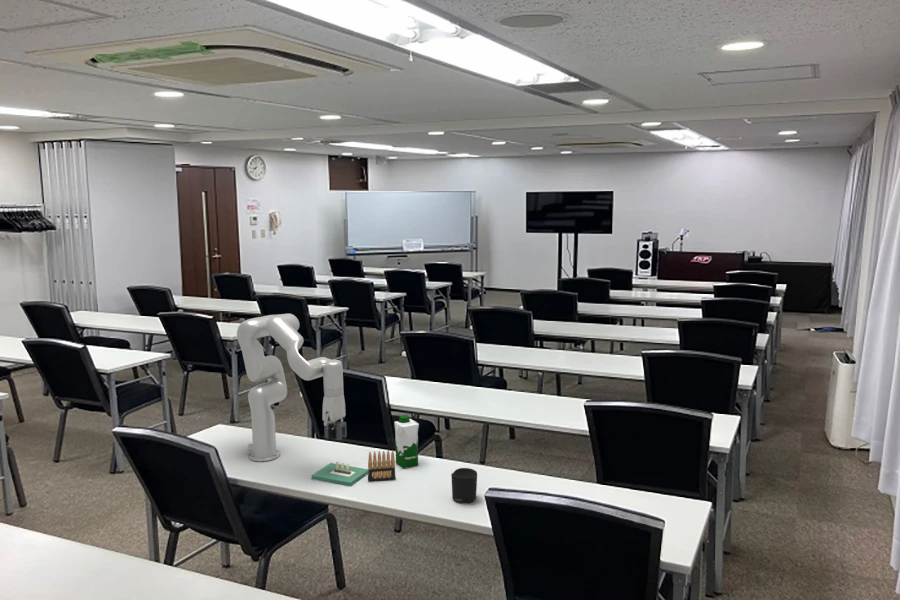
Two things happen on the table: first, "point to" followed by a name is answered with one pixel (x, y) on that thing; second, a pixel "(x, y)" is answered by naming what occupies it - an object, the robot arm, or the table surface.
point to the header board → (340, 474)
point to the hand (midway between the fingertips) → (335, 436)
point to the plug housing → (338, 430)
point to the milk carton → (406, 442)
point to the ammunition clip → (381, 467)
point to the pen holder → (464, 485)
